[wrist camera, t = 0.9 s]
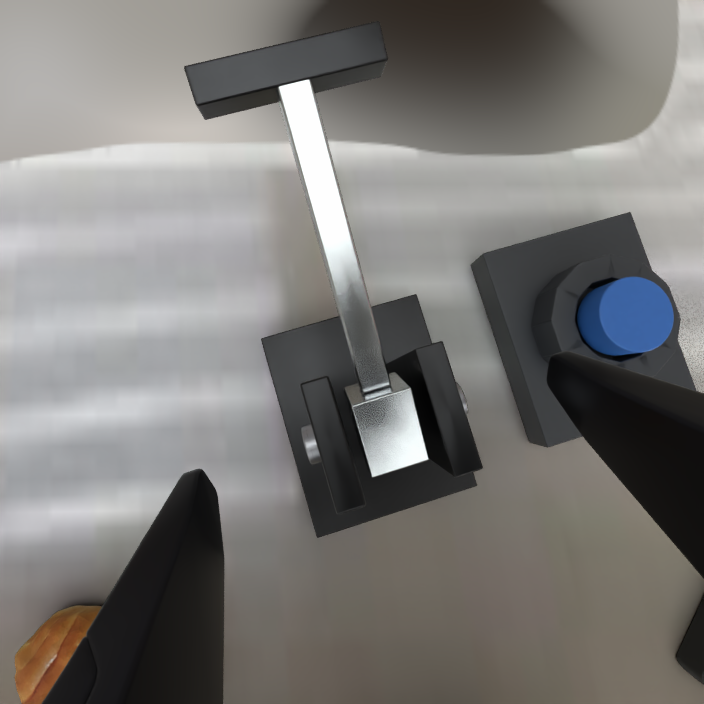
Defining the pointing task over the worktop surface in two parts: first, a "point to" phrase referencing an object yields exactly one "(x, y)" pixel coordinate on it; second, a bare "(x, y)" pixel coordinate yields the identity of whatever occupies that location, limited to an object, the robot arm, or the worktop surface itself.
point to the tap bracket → (338, 429)
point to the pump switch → (565, 313)
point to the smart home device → (694, 647)
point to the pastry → (50, 651)
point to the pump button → (625, 317)
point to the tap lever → (327, 210)
